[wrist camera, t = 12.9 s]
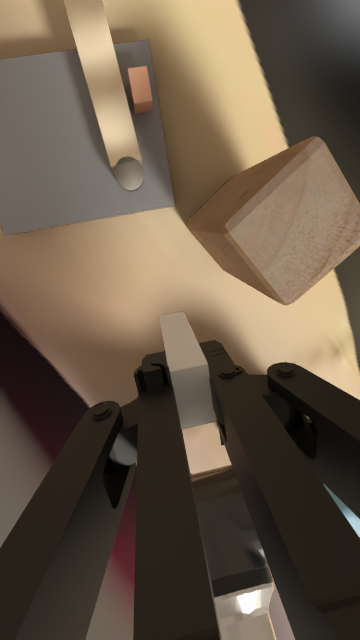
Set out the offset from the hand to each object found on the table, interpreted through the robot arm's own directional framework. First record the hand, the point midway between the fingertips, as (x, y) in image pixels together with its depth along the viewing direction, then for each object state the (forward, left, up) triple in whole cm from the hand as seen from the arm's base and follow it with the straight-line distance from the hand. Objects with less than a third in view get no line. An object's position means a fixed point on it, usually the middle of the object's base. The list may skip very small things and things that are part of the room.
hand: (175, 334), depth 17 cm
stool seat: (+16, +7, -26) cm, 32 cm away
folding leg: (+19, +1, -23) cm, 30 cm away
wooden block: (+4, -12, -27) cm, 29 cm away
